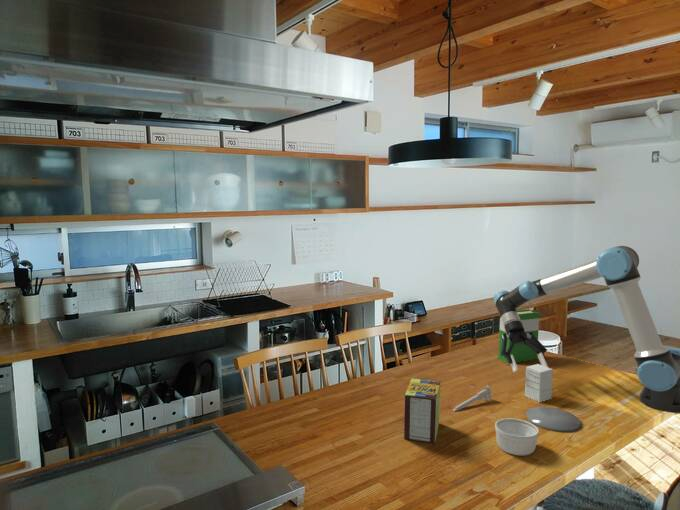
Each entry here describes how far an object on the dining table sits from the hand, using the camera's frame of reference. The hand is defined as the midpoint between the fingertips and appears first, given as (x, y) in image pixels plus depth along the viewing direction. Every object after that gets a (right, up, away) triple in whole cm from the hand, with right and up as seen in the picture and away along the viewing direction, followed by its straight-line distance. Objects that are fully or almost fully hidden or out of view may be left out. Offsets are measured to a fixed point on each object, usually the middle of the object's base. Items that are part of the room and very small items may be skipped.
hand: (530, 369), depth 199 cm
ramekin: (-21, -15, -42) cm, 50 cm away
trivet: (-1, -13, -23) cm, 26 cm away
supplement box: (+2, -11, -3) cm, 11 cm away
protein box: (-50, -14, -31) cm, 60 cm away
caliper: (-27, -12, -10) cm, 31 cm away
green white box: (+11, -5, +44) cm, 46 cm away
